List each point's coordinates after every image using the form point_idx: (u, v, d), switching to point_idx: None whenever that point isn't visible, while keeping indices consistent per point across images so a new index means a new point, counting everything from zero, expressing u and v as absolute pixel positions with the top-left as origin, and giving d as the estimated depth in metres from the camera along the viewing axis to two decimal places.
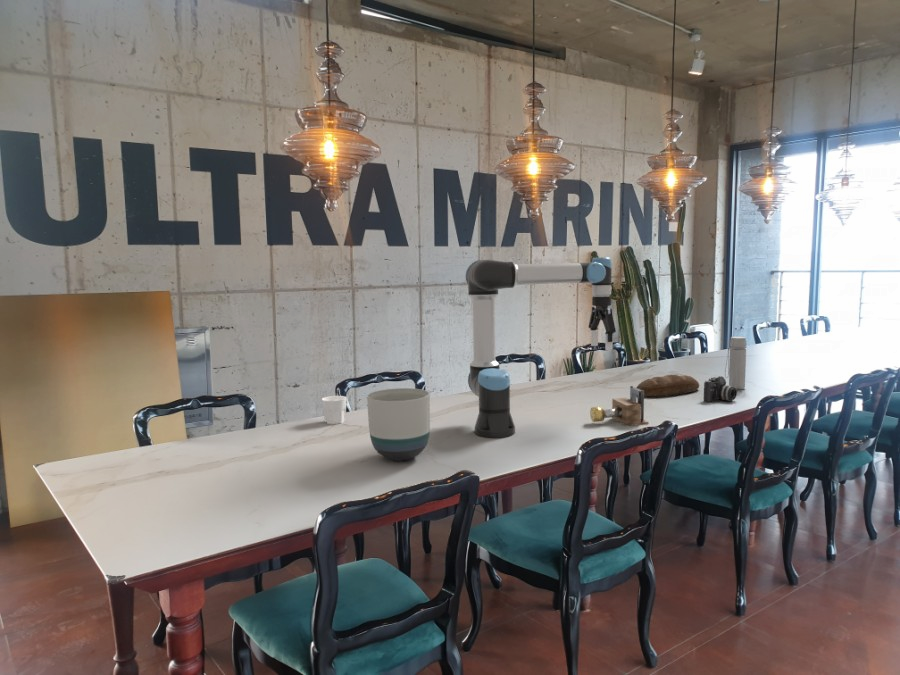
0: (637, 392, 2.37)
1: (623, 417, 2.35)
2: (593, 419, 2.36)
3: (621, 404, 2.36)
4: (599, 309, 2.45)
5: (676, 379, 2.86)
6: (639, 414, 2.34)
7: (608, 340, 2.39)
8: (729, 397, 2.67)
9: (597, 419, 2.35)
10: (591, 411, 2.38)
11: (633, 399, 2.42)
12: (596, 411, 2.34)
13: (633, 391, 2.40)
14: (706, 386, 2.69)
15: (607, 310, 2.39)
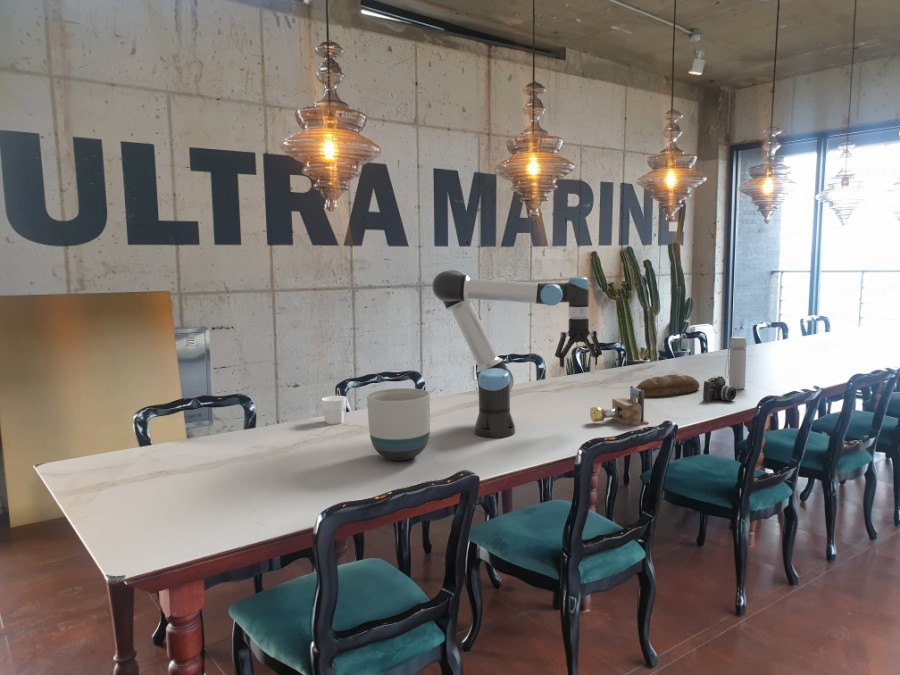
0: (637, 392, 2.37)
1: (623, 417, 2.35)
2: (593, 419, 2.36)
3: (621, 404, 2.36)
4: None
5: (676, 379, 2.86)
6: (639, 414, 2.34)
7: None
8: (729, 397, 2.67)
9: (597, 419, 2.35)
10: (591, 411, 2.38)
11: (633, 399, 2.42)
12: (596, 411, 2.34)
13: (633, 391, 2.40)
14: (706, 386, 2.69)
15: (561, 333, 2.31)
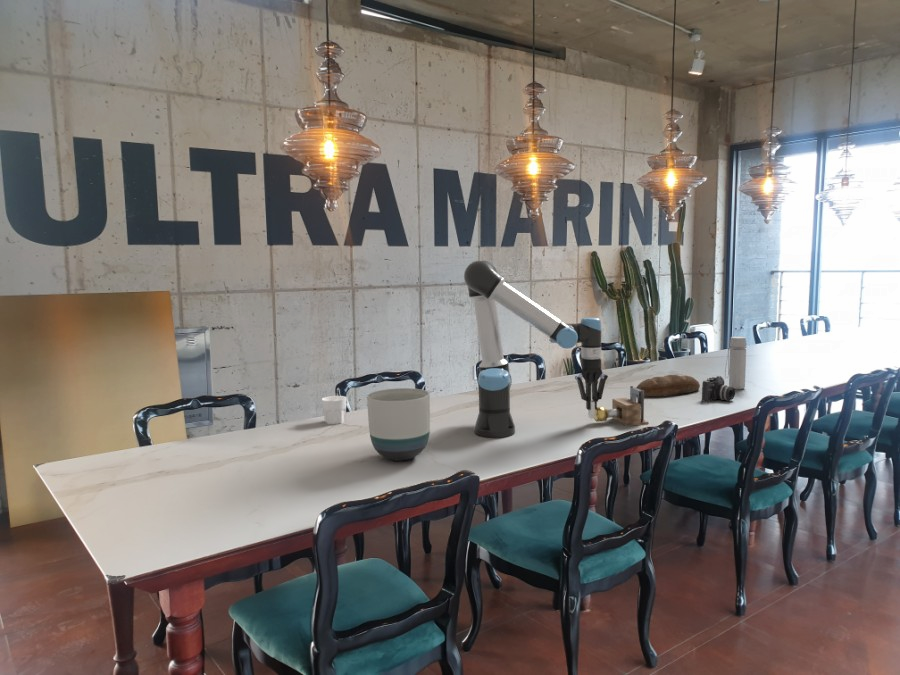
0: (637, 392, 2.37)
1: (623, 417, 2.35)
2: (596, 419, 2.37)
3: (621, 404, 2.36)
4: None
5: (676, 379, 2.86)
6: (639, 414, 2.34)
7: None
8: (727, 397, 2.68)
9: (600, 419, 2.35)
10: None
11: (633, 399, 2.42)
12: (599, 411, 2.35)
13: (633, 391, 2.40)
14: (705, 386, 2.69)
15: (575, 378, 2.34)
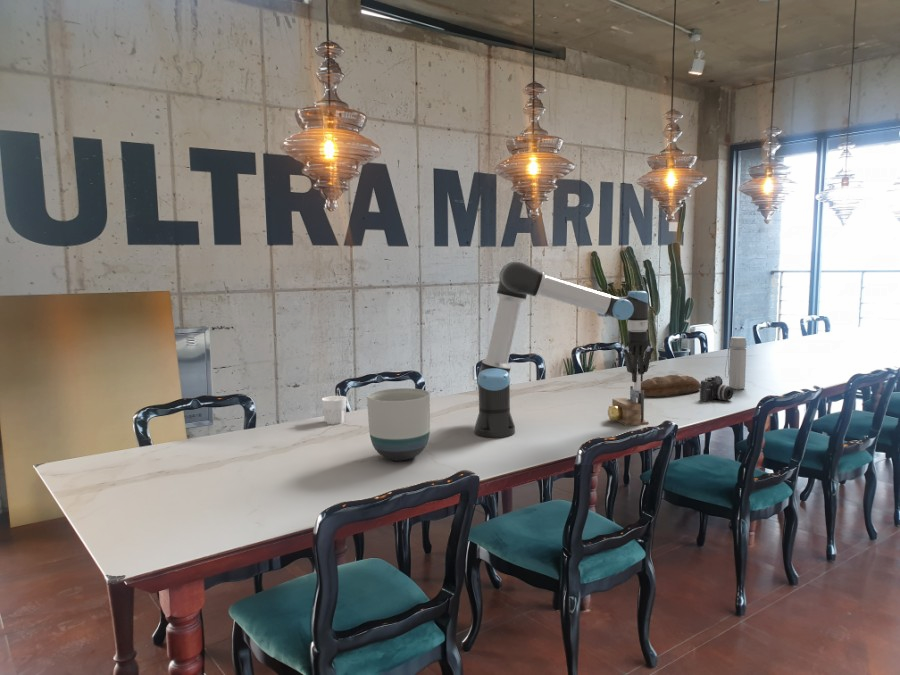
0: (637, 393, 2.37)
1: (623, 417, 2.35)
2: (611, 418, 2.38)
3: (621, 404, 2.36)
4: None
5: (676, 379, 2.85)
6: (639, 414, 2.34)
7: None
8: (725, 396, 2.68)
9: (615, 418, 2.36)
10: (609, 410, 2.39)
11: (633, 400, 2.42)
12: (614, 410, 2.36)
13: (633, 392, 2.40)
14: (703, 386, 2.70)
15: (622, 351, 2.37)
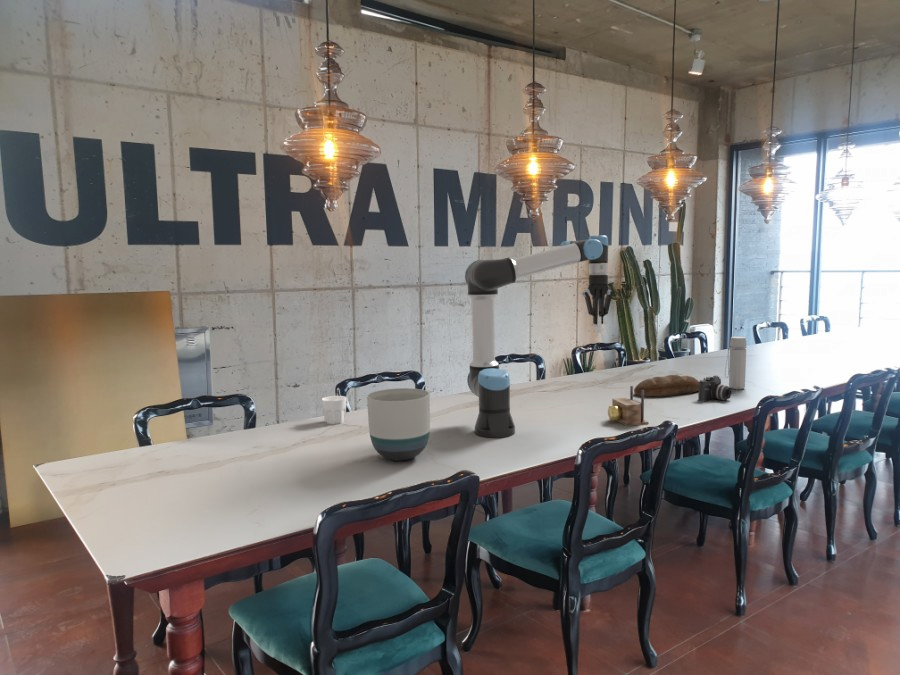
0: None
1: (623, 417, 2.35)
2: (611, 418, 2.38)
3: (621, 404, 2.36)
4: None
5: (676, 379, 2.85)
6: (639, 414, 2.34)
7: None
8: (724, 396, 2.69)
9: (615, 418, 2.36)
10: (609, 410, 2.39)
11: None
12: (614, 410, 2.36)
13: None
14: (701, 385, 2.71)
15: (583, 294, 2.45)
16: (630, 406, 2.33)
